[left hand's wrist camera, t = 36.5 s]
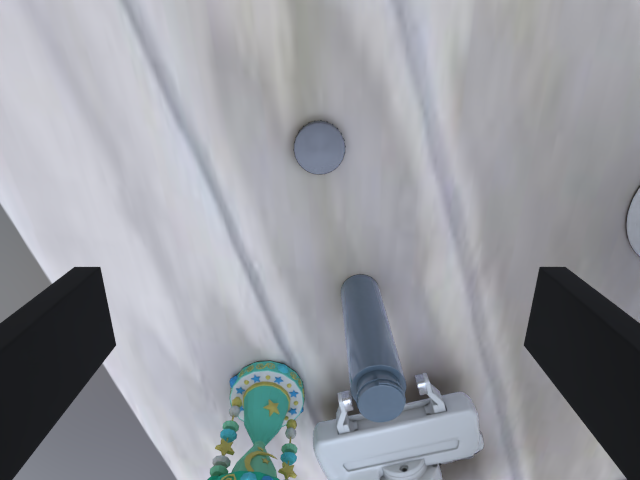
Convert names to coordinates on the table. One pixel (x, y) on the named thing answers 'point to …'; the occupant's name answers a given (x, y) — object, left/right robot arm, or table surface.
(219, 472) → the decorative hourglass
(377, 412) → the jar
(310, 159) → the lid
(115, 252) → the table surface
